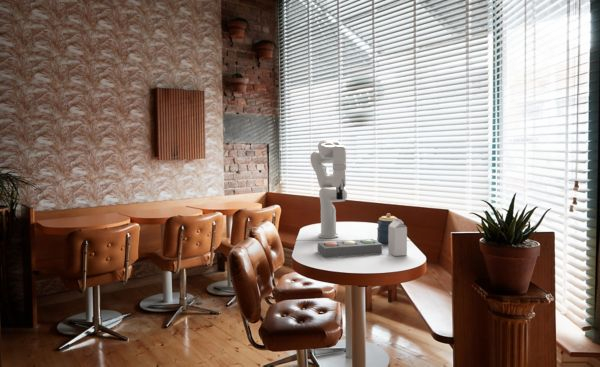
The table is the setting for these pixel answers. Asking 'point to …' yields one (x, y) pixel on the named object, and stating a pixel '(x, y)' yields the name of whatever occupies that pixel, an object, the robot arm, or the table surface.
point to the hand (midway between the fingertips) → (339, 199)
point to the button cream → (349, 242)
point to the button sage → (367, 241)
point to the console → (349, 249)
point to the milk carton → (397, 238)
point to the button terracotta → (330, 244)
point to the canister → (384, 228)
